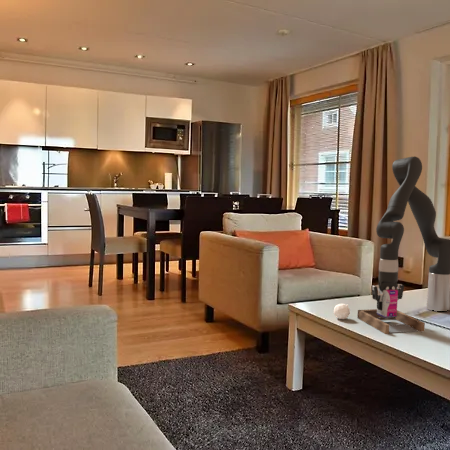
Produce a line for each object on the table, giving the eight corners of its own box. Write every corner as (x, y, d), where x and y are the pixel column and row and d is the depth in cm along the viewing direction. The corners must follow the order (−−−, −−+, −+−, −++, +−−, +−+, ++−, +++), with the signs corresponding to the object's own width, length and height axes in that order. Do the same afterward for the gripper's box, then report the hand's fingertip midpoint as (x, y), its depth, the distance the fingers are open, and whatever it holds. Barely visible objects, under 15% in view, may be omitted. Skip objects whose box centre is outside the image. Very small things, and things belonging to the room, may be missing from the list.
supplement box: (385, 318, 192) (386, 290, 191) (376, 314, 198) (377, 287, 196) (397, 317, 194) (398, 289, 192) (388, 313, 199) (389, 286, 198)
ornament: (337, 315, 204) (348, 302, 203) (345, 325, 199) (356, 312, 197) (327, 309, 201) (339, 296, 200) (335, 319, 195) (347, 306, 194)
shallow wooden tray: (357, 318, 201) (357, 310, 201) (392, 316, 205) (393, 308, 205) (385, 333, 180) (385, 325, 180) (424, 331, 184) (424, 323, 184)
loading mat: (377, 326, 190) (377, 325, 190) (404, 324, 193) (404, 324, 193) (389, 333, 181) (389, 332, 181) (418, 331, 184) (418, 330, 184)
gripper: (398, 267, 199) (396, 306, 201) (367, 268, 196) (366, 308, 197) (409, 270, 192) (407, 311, 193) (377, 272, 188) (376, 313, 190)
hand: (386, 309), depth 195 cm, fingers closed on supplement box, 6 cm apart
